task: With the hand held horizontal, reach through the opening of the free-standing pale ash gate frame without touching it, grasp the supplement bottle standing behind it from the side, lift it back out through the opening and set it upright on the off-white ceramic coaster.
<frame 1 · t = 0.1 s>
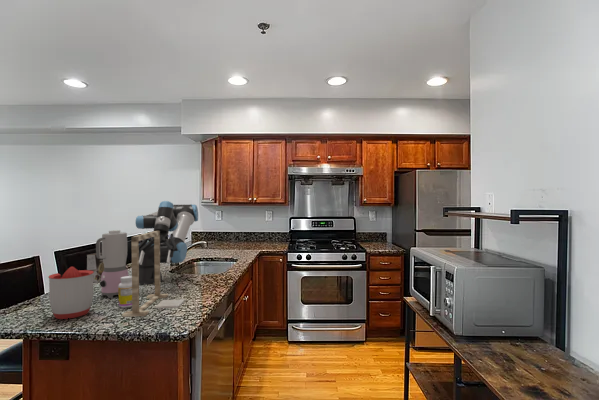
hand: (154, 263, 173), 15 cm above the countertop, tool tilted 35°, fingers open, 13 cm apart
citrus juicer: (71, 315, 142), on the countertop
coffee box: (96, 281, 205), on the countertop
gate frame: (147, 305, 154), on the countertop
blender: (112, 295, 172), on the countertop
supplement bottle: (126, 306, 154), on the countertop
coaster: (170, 304, 155), on the countertop
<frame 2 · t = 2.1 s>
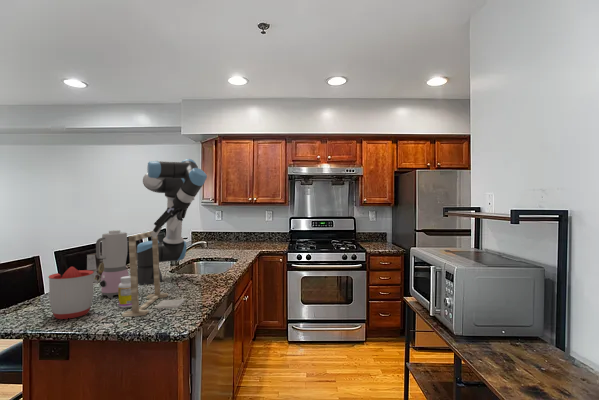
hand: (162, 232, 165), 31 cm above the countertop, tool tilted 40°, fingers open, 13 cm apart
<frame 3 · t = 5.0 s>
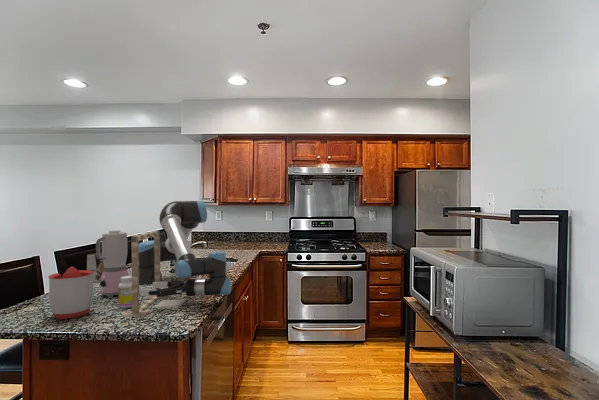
hand: (147, 288, 154), 7 cm above the countertop, tool horizontal, fingers open, 13 cm apart
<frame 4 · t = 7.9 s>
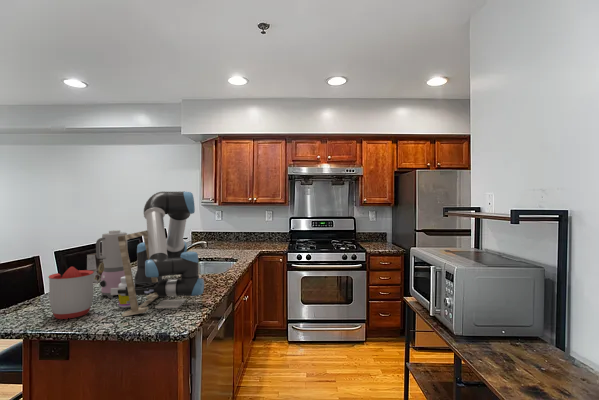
hand: (115, 289, 153), 8 cm above the countertop, tool horizontal, fingers closed on supplement bottle, 7 cm apart
gate frame: (147, 303, 154), point 1 cm above the countertop, tilted 10°, touching arm
supplement bottle: (126, 306, 154), on the countertop, touching gripper
everything else where it was.
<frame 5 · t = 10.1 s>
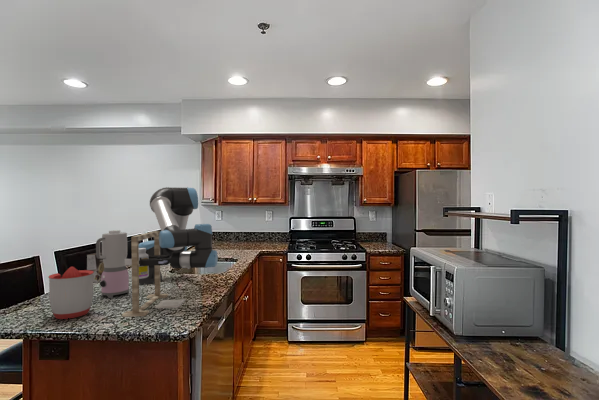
hand: (129, 260, 153), 20 cm above the countertop, tool horizontal, fingers closed on supplement bottle, 7 cm apart
gate frame: (147, 305, 154), on the countertop
supplement bottle: (140, 278, 153), point 12 cm above the countertop, touching gripper
everything else where it was.
when the fingers open (9 cm above the countertop, at t = 13.3 s): supplement bottle stays where it is, resting on coaster.
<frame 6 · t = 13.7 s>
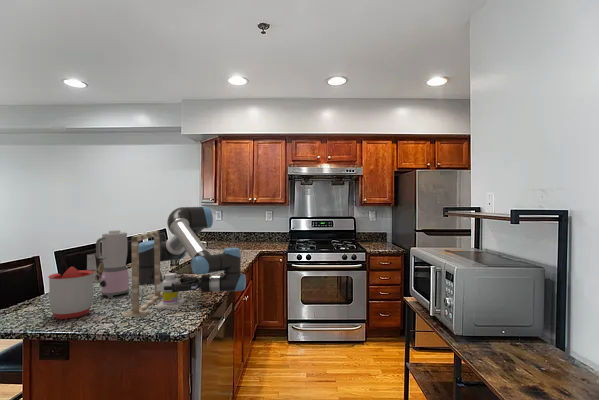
hand: (161, 284, 155), 9 cm above the countertop, tool horizontal, fingers open, 11 cm apart
supplement bottle: (170, 303, 155), point 1 cm above the countertop, touching coaster
everything else where it was.
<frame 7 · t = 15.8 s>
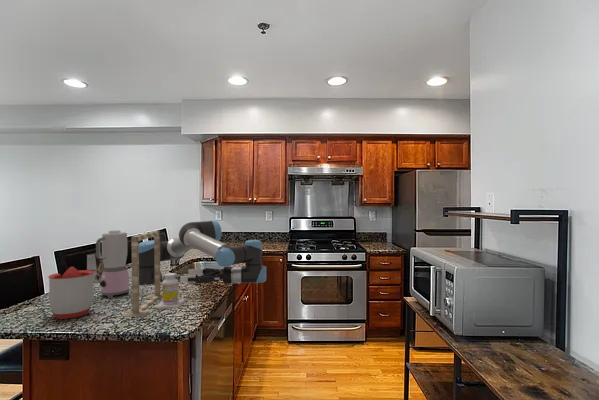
hand: (184, 275, 156), 13 cm above the countertop, tool horizontal, fingers open, 13 cm apart
nothing on the countertop moved.
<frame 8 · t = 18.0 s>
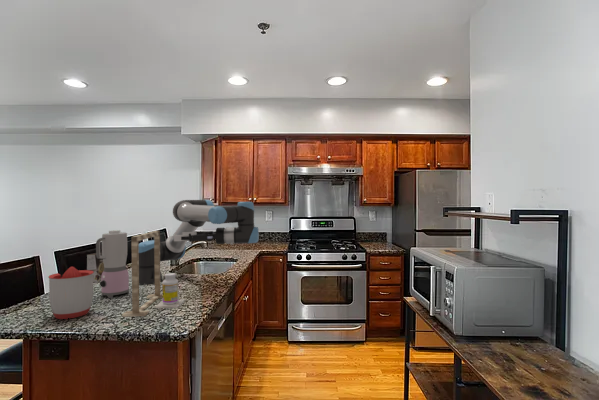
hand: (178, 236, 159), 30 cm above the countertop, tool horizontal, fingers open, 13 cm apart
nothing on the countertop moved.
at the end: supplement bottle inside the target area (0.1 cm from its centre), point 0.6 cm above the countertop; supplement bottle tilted 0°; gate frame moved 0.0 cm from its start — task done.
